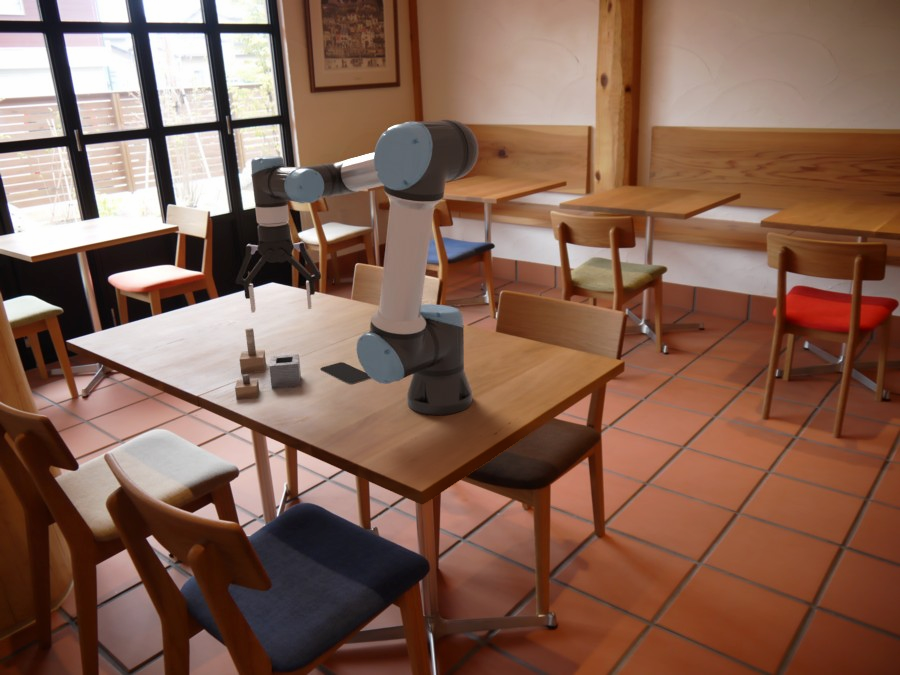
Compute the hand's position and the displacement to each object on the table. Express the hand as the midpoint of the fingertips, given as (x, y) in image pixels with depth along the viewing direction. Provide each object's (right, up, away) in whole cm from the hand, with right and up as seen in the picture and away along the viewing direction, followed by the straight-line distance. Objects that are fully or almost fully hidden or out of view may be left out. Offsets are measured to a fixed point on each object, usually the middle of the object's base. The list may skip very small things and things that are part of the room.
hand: (281, 309), depth 183 cm
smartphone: (+14, -17, +10) cm, 24 cm away
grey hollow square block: (0, -18, +5) cm, 19 cm away
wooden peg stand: (-11, -15, +15) cm, 24 cm away
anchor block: (-8, -21, -2) cm, 22 cm away
